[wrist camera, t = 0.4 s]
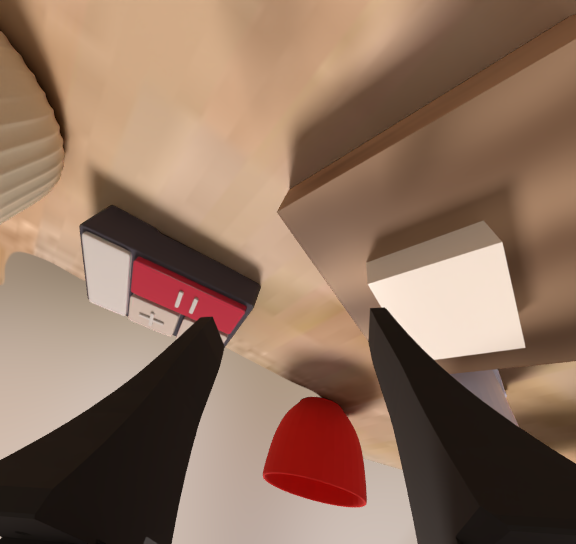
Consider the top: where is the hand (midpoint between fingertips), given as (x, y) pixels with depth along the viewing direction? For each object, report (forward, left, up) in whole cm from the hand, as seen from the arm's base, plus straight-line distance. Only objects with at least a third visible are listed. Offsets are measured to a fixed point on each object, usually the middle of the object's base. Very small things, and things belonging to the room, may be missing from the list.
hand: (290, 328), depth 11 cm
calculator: (+1, +16, -10) cm, 19 cm away
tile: (-6, -6, -6) cm, 10 cm away
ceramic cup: (-29, +16, -9) cm, 34 cm away
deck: (-6, -7, -9) cm, 13 cm away
